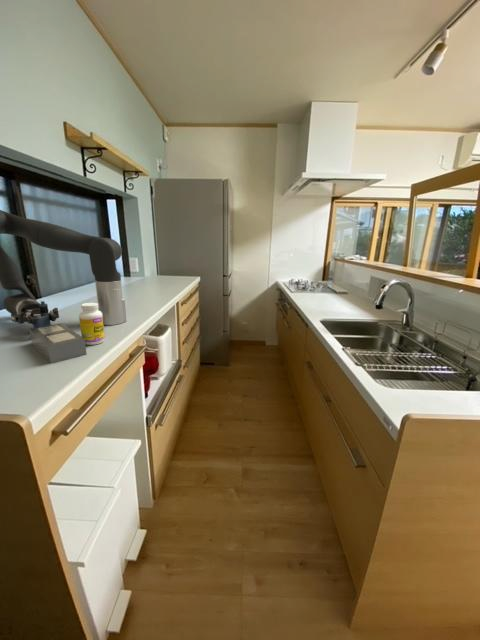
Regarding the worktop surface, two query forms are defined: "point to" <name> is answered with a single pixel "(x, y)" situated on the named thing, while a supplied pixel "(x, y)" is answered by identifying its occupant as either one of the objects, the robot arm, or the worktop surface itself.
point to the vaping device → (42, 316)
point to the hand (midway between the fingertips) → (43, 319)
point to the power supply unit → (58, 342)
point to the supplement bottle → (91, 324)
